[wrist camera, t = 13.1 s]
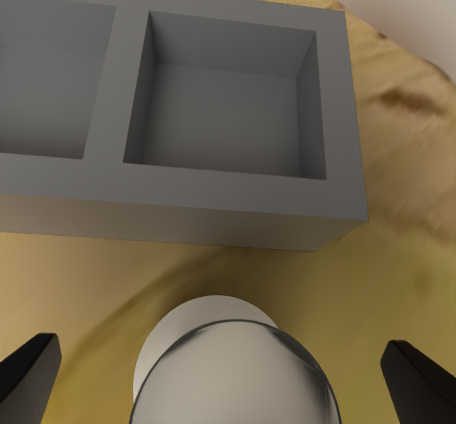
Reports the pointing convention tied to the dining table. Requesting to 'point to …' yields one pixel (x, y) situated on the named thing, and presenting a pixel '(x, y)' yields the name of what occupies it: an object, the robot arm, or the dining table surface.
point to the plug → (227, 370)
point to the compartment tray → (179, 122)
